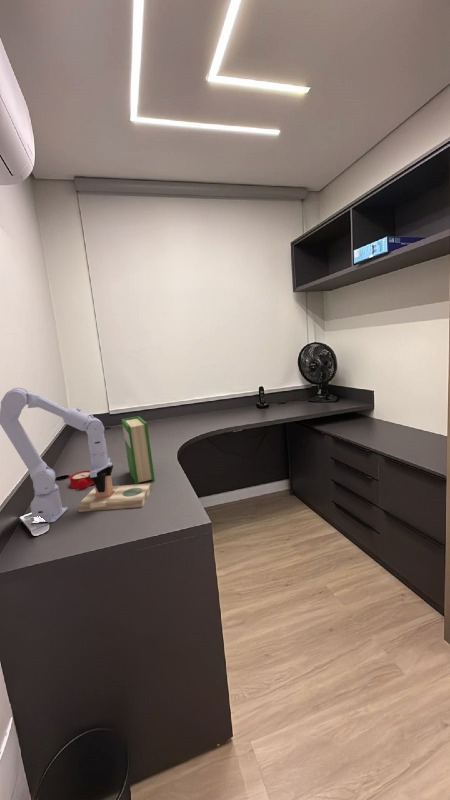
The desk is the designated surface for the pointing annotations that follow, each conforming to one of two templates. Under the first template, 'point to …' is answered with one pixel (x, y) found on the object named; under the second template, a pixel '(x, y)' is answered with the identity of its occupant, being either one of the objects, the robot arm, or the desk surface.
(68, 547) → the desk surface
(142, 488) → the pocket board
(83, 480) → the alarm clock
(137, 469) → the hardback book
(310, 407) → the desk surface
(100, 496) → the peg
